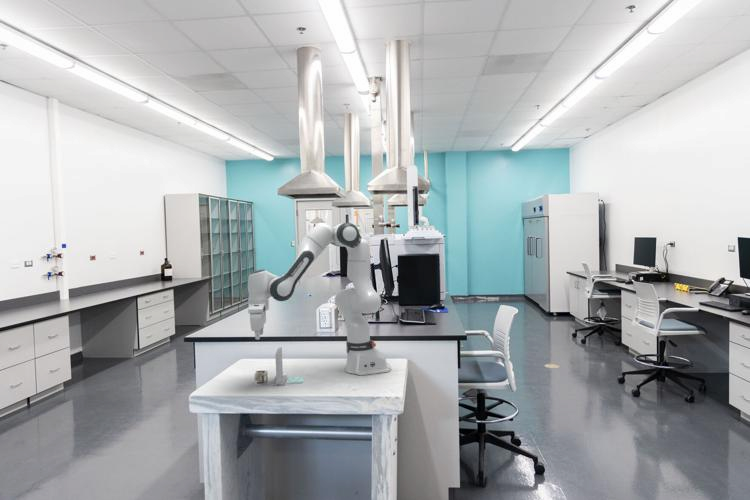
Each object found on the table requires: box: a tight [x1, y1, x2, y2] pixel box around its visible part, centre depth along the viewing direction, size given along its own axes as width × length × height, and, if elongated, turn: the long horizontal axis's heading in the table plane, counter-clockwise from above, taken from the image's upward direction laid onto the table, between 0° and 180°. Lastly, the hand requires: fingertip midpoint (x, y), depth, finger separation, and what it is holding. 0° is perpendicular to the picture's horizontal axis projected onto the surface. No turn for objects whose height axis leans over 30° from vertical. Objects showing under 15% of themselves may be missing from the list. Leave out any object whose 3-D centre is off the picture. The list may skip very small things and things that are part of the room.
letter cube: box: [254, 369, 269, 386], centre depth 204 cm, size 5×5×5 cm
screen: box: [272, 346, 288, 387], centre depth 206 cm, size 5×12×14 cm, turn 6°
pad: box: [286, 376, 304, 385], centre depth 206 cm, size 7×7×1 cm
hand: (259, 336), depth 203 cm, fingers open, 8 cm apart
